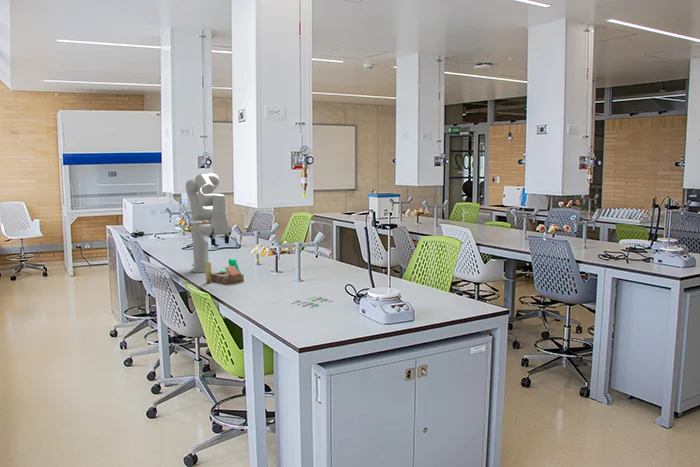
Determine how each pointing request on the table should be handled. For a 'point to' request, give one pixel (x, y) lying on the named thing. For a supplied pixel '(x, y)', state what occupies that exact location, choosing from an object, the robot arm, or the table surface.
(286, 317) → the table surface
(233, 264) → the camera mount
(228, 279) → the hitch block
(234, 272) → the orange flat plate
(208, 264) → the brass pin
